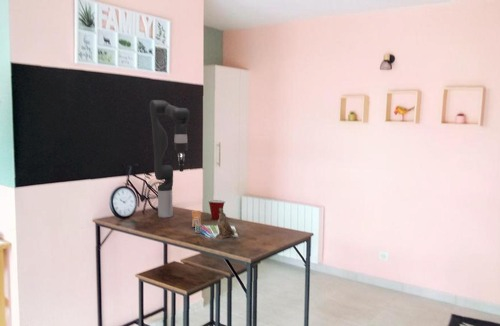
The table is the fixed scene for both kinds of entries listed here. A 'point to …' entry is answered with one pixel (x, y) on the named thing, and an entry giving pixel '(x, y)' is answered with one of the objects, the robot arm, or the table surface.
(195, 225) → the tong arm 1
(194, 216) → the collar
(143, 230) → the table surface
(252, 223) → the table surface
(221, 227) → the brown carved statuette
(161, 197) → the robot arm
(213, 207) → the plastic cup
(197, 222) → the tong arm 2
